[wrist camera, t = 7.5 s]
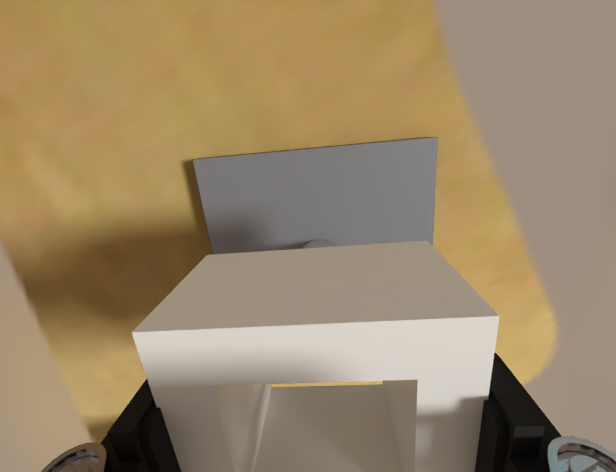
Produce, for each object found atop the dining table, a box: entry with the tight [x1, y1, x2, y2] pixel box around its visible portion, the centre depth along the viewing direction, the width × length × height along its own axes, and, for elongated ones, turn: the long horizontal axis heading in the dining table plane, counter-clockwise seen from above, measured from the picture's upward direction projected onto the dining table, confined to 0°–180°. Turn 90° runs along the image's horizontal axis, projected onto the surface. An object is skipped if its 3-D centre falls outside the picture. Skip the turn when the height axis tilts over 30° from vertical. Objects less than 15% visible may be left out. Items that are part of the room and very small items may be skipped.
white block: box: [132, 241, 499, 472], centre depth 9 cm, size 7×7×4 cm
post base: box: [193, 137, 438, 254], centre depth 14 cm, size 12×12×7 cm
